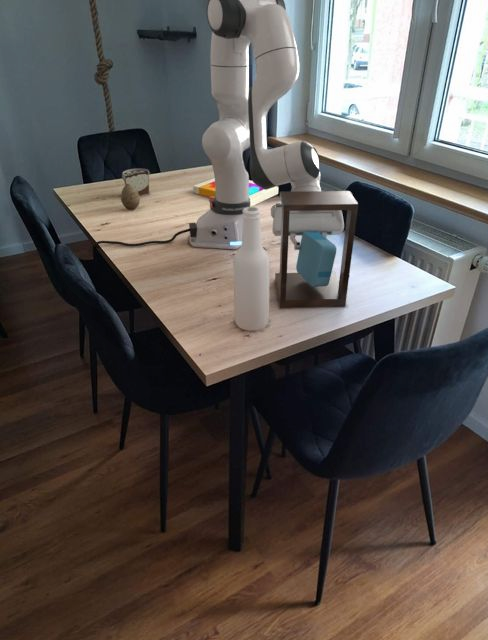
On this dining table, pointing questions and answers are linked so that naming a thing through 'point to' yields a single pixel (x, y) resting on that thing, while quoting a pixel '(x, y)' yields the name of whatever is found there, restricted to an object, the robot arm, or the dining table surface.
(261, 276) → the alcohol
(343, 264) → the shelf
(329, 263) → the data package
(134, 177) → the food container
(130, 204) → the decorative egg
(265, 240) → the dining table surface
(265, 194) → the puzzle game
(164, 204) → the dining table surface
